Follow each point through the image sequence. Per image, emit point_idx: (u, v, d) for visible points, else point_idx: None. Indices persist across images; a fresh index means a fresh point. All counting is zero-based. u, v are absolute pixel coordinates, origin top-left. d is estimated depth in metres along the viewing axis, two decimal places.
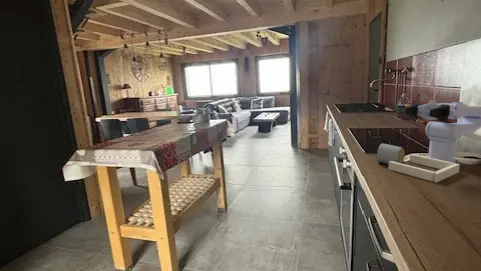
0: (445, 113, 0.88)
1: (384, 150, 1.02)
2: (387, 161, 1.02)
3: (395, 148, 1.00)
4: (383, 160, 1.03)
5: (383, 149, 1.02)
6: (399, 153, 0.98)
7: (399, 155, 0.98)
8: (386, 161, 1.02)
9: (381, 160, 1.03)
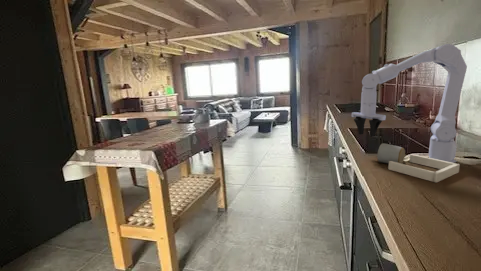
0: None
1: (384, 150, 1.02)
2: (387, 161, 1.02)
3: (395, 148, 1.00)
4: (383, 160, 1.03)
5: (383, 149, 1.02)
6: (399, 153, 0.99)
7: (399, 155, 0.99)
8: (386, 161, 1.02)
9: (381, 160, 1.03)
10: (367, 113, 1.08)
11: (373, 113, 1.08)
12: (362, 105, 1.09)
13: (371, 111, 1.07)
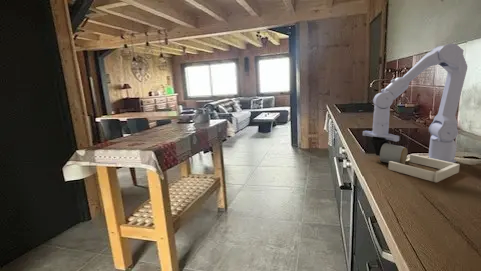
0: None
1: (387, 149, 1.02)
2: (390, 160, 1.02)
3: (398, 148, 1.00)
4: (386, 160, 1.03)
5: (386, 148, 1.02)
6: (402, 153, 0.98)
7: (402, 155, 0.98)
8: (389, 160, 1.02)
9: (384, 159, 1.03)
10: (380, 133, 1.04)
11: (386, 133, 1.04)
12: (374, 125, 1.06)
13: (384, 131, 1.04)
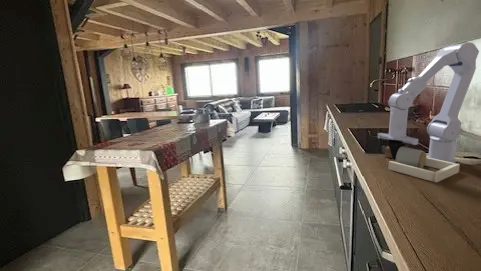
0: None
1: (404, 153, 0.96)
2: None
3: (416, 151, 0.94)
4: None
5: (403, 152, 0.96)
6: (420, 157, 0.93)
7: (420, 159, 0.92)
8: None
9: None
10: (397, 136, 0.99)
11: (403, 136, 0.98)
12: (391, 127, 1.00)
13: (402, 134, 0.98)
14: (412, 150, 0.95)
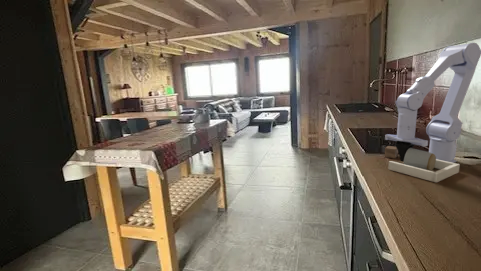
0: None
1: (412, 155, 0.93)
2: None
3: (425, 153, 0.92)
4: None
5: (411, 154, 0.94)
6: (429, 159, 0.90)
7: (429, 161, 0.90)
8: None
9: None
10: (405, 137, 0.96)
11: (412, 137, 0.96)
12: (399, 128, 0.97)
13: (411, 135, 0.95)
14: (421, 152, 0.93)
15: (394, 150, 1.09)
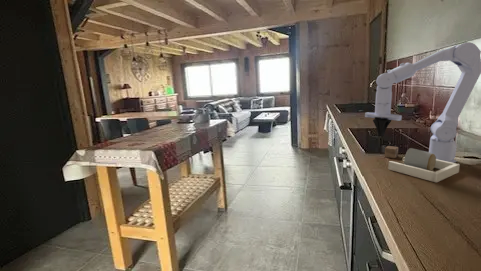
0: None
1: (412, 155, 0.94)
2: None
3: (425, 154, 0.92)
4: None
5: (411, 154, 0.94)
6: (429, 159, 0.90)
7: (429, 161, 0.90)
8: None
9: None
10: (382, 113, 1.05)
11: (388, 113, 1.05)
12: (377, 105, 1.07)
13: (386, 111, 1.05)
14: (421, 152, 0.93)
15: (394, 150, 1.09)
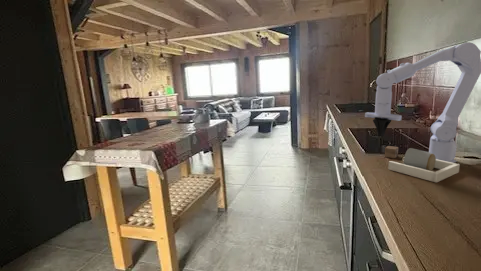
0: None
1: (412, 155, 0.94)
2: None
3: (424, 153, 0.92)
4: None
5: (411, 154, 0.94)
6: (429, 159, 0.90)
7: (429, 161, 0.90)
8: None
9: None
10: (382, 113, 1.05)
11: (388, 113, 1.05)
12: (377, 105, 1.07)
13: (386, 111, 1.05)
14: (420, 152, 0.93)
15: (394, 150, 1.09)
